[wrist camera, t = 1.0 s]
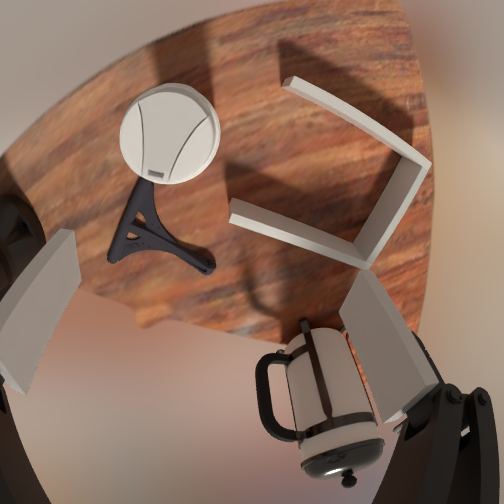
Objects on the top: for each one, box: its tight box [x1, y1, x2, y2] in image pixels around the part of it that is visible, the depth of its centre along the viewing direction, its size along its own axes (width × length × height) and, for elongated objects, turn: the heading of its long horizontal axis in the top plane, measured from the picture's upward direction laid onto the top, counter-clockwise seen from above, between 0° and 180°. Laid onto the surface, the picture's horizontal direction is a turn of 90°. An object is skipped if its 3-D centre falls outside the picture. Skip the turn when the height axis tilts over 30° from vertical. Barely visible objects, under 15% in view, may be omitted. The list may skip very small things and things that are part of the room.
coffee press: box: [255, 318, 385, 488], centre depth 38 cm, size 17×16×30 cm
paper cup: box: [120, 83, 220, 184], centre depth 23 cm, size 8×8×14 cm
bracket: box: [107, 177, 216, 275], centre depth 36 cm, size 14×15×3 cm
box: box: [228, 76, 432, 271], centre depth 31 cm, size 20×17×5 cm
